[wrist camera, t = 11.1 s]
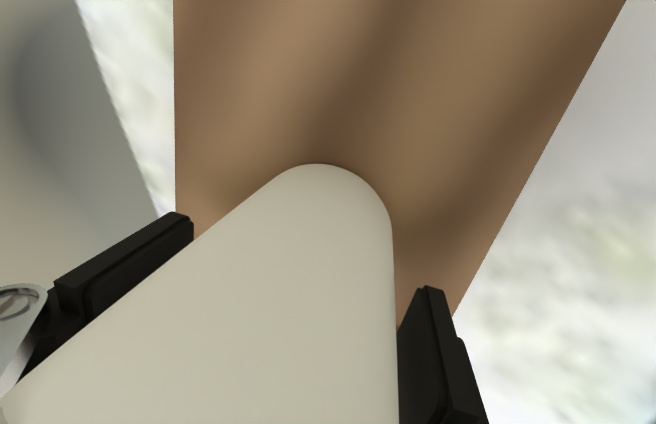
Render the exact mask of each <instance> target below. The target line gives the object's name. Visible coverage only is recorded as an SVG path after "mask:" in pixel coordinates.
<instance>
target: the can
mask: <svg viewBox="0 0 656 424" xmlns="http://www.w3.org/2000/svg"><path fill="white" fill-rule="evenodd" d="M0 407H1V408H2V410H3V414H4V417H5V419H6V421H7V423H8V424H399V406H398V374H397V344H396V315H395V287H394V261H393V240H392V227H391V221H390V218H389V215H388V212H387V210H386V208H385V206H384V204H383V202H382V201H381V199H380V198H379V196H378V195H377V193H376V192H375V191H374V190H373V188H372V187H371V186H370V185H369V184H368V183H367V182H365V181H364V180H363V179H362V178H360V177H359V176H357V175H355V174H354V173H352V172H350V171H348V170H345V169H343V168H340V167H336V166H332V165H327V164H306V165H301V166H297V167H294V168H291V169H289V170H287V171H285V172H283V173H281V174H279V175H278V176H276V177H275V178H274V179H272V180H271V181H269V182H268V183H267V184H265V185H264V186H263V187H262V188H260V189H259V190H258V191H256V192H255V193H254V194H253V195H251V196H250V197H249V198H247V199H246V200H245V201H244V202H242V203H241V204H240V205H238V206H237V207H236V208H235V209H233V210H232V211H231V212H230V213H228V214H227V215H226V216H224V217H223V218H222V219H221V220H219V221H218V222H217V223H215V224H214V225H213V226H212V227H210V228H209V229H208V230H207V231H205V232H204V233H203V234H202V235H200V236H199V237H198V238H196V239H195V240H194V241H193V242H191V243H190V244H189V245H188V246H186V247H185V248H184V249H182V250H181V251H180V252H179V253H177V254H176V255H175V256H174V257H172V258H171V259H170V260H169V261H167V262H166V263H165V264H164V265H162V266H161V267H160V268H158V269H157V270H156V271H155V272H153V273H152V274H151V275H150V276H148V277H147V278H146V279H145V280H143V281H142V282H141V283H140V284H138V285H137V286H136V287H135V288H133V289H132V290H131V291H129V292H128V293H127V294H126V295H124V296H123V297H122V298H121V299H119V300H118V301H117V302H116V303H114V304H113V305H112V306H111V307H109V308H108V309H107V310H106V311H104V312H103V313H102V314H101V315H99V316H98V317H97V318H96V319H94V320H93V321H92V322H91V323H89V324H88V325H87V326H86V327H84V328H83V329H82V330H81V331H79V332H78V333H77V334H76V335H74V336H73V337H72V338H71V339H69V340H68V341H67V342H66V343H64V344H63V345H62V346H61V347H60V348H58V349H57V350H56V351H55V352H54V353H52V354H51V355H50V356H49V357H48V358H46V359H45V360H44V361H43V362H42V363H40V364H39V365H38V366H37V367H35V368H34V369H33V370H32V371H31V372H29V373H28V374H27V375H26V376H25V377H23V378H22V379H21V380H20V381H19V382H18V383H17V384H16V385H15V386H14V387H13V388H12V389H11V390H9V391H8V392H7V393H6V394H5V395H4V396H3V397H2V398H1V399H0Z"/></svg>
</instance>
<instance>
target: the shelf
mask: <svg viewBox="0 0 656 424" xmlns="http://www.w3.org/2000/svg"><path fill="white" fill-rule="evenodd" d="M625 2H626V0H173V24H174V111H175V199H176V213H180V214H183V215H187V216H189V217H190V220H191V221H192V222H193V223H194V240H195V239H196V238H198V237H199V236H200V235H202V234H203V233H204V232H205V231H207V230H208V229H209V228H210V227H212V226H213V225H214V224H215V223H217V222H218V221H219V220H221V219H222V218H223V217H224V216H226V215H227V214H228V213H230V212H231V211H232V210H233V209H235V208H236V207H237V206H238V205H240V204H241V203H242V202H244V201H245V200H246V199H247V198H249V197H250V196H251V195H253V194H254V193H255V192H256V191H258V190H259V189H260V188H262V187H263V186H264V185H265V184H267V183H268V182H269V181H271V180H272V179H274V178H275V177H276V176H278V175H279V174H281V173H283V172H285V171H287V170H289V169H291V168H294V167H297V166H301V165H306V164H327V165H332V166H336V167H340V168H343V169H345V170H348V171H350V172H352V173H354V174H355V175H357V176H359V177H360V178H362V179H363V180H364V181H365V182H367V183H368V184H369V185H370V186H371V187H372V188H373V190H374V191H375V192H376V193H377V195H378V196H379V198H380V199H381V201H382V202H383V204H384V206H385V208H386V210H387V212H388V215H389V218H390V221H391V227H392V240H393V261H394V287H395V315H396V334H397V331H398V329H399V327H400V325H401V322H402V320H403V318H404V316H405V314H406V311H407V309H408V307H409V305H410V303H411V300H412V298H413V296H414V294H415V291H416V290H417V288H423V287H424V286H425V285H428V286H431V287H434V288H438V289H441V290H443V291H444V293H445V296H446V300H447V303H448V307H449V310H450V314H451V317H452V316H453V314H454V313H455V311H456V309H457V307H458V305H459V304H460V302H461V300H462V298H463V296H464V294H465V293H466V291H467V289H468V287H469V285H470V284H471V282H472V280H473V278H474V276H475V274H476V273H477V271H478V269H479V267H480V265H481V263H482V262H483V260H484V258H485V256H486V254H487V253H488V251H489V249H490V247H491V245H492V243H493V242H494V240H495V238H496V236H497V234H498V233H499V231H500V229H501V227H502V225H503V223H504V222H505V220H506V218H507V216H508V214H509V213H510V211H511V209H512V207H513V205H514V203H515V202H516V200H517V198H518V196H519V194H520V193H521V191H522V189H523V187H524V185H525V183H526V182H527V180H528V178H529V176H530V174H531V173H532V171H533V169H534V167H535V165H536V163H537V162H538V160H539V158H540V156H541V154H542V153H543V151H544V149H545V147H546V145H547V143H548V142H549V140H550V138H551V136H552V134H553V133H554V131H555V129H556V127H557V125H558V123H559V122H560V120H561V118H562V116H563V114H564V113H565V111H566V109H567V107H568V105H569V103H570V102H571V100H572V98H573V96H574V94H575V92H576V91H577V89H578V87H579V85H580V83H581V82H582V80H583V78H584V76H585V74H586V72H587V71H588V69H589V67H590V65H591V63H592V62H593V60H594V58H595V56H596V54H597V52H598V51H599V49H600V47H601V45H602V43H603V42H604V40H605V38H606V36H607V34H608V32H609V31H610V29H611V27H612V25H613V23H614V22H615V20H616V18H617V16H618V14H619V12H620V11H621V9H622V7H623V5H624V3H625Z"/></svg>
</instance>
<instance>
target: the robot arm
mask: <svg viewBox="0 0 656 424" xmlns="http://www.w3.org/2000/svg"><path fill="white" fill-rule="evenodd" d="M193 241H194V223H193V222H192V221H191V220H190V217H189V216H187V215H183V214H180V213H176V212H169V213H167V214H166V215H164V216H162V217H161V218H159V219H157V220H156V221H154V222H152V223H151V224H149V225H147V226H145V227H144V228H142V229H141V230H139V231H137V232H135V233H134V234H132V235H130V236H129V237H127V238H125V239H124V240H122V241H120V242H119V243H117V244H115V245H114V246H112V247H110V248H108V249H107V250H105V251H103V252H102V253H100V254H98V255H97V256H95V257H93V258H92V259H90V260H88V261H87V262H85V263H83V264H82V265H80V266H78V267H77V268H75V269H73V270H72V271H70V272H68V273H67V274H65V275H63V276H61V277H60V278H58V279H56V280H55V281H54V287H53V288H51V289H50V290H48V291H46V289H45V288H43V287H42V286H40V285H35V284H25V283H23V284H22V283H21V284H13V285H7V286H3V287H0V399H1V398H2V397H3V396H4V395H5V394H6V393H7V392H8V391H9V390H11V389H12V388H13V387H14V386H15V385H16V384H17V383H18V382H19V381H20V380H21V379H22V378H23V377H25V376H26V375H27V374H28V373H29V372H31V371H32V370H33V369H34V368H35V367H37V366H38V365H39V364H40V363H42V362H43V361H44V360H45V359H46V358H48V357H49V356H50V355H51V354H52V353H54V352H55V351H56V350H57V349H58V348H60V347H61V346H62V345H63V344H64V343H66V342H67V341H68V340H69V339H71V338H72V337H73V336H74V335H76V334H77V333H78V332H79V331H81V330H82V329H83V328H84V327H86V326H87V325H88V324H89V323H91V322H92V321H93V320H94V319H96V318H97V317H98V316H99V315H101V314H102V313H103V312H104V311H106V310H107V309H108V308H109V307H111V306H112V305H113V304H114V303H116V302H117V301H118V300H119V299H121V298H122V297H123V296H124V295H126V294H127V293H128V292H129V291H131V290H132V289H133V288H135V287H136V286H137V285H138V284H140V283H141V282H142V281H143V280H145V279H146V278H147V277H148V276H150V275H151V274H152V273H153V272H155V271H156V270H157V269H158V268H160V267H161V266H162V265H164V264H165V263H166V262H167V261H169V260H170V259H171V258H172V257H174V256H175V255H176V254H177V253H179V252H180V251H181V250H182V249H184V248H185V247H186V246H188V245H189V244H190V243H191V242H193ZM396 344H397V374H398V406H399V424H489V422H488V418H487V415H486V412H485V409H484V405H483V402H482V399H481V396H480V392H479V389H478V386H477V383H476V379H475V376H474V373H473V370H472V366H471V363H470V360H469V357H468V353H467V350H466V347H465V344H464V342H463V340H462V339H461V338H459V337H457V335H456V331H455V328H454V324H453V321H452V317H451V314H450V310H449V307H448V303H447V300H446V296H445V293H444V291H443V290H441V289H438V288H434V287H431V286H428V285H425V286H424V287H423V288H417V290H416V291H415V294H414V296H413V298H412V300H411V303H410V305H409V307H408V309H407V311H406V314H405V316H404V318H403V320H402V322H401V325H400V327H399V329H398V331H397V334H396ZM0 424H8V423H7V421H6V419H5V417H4V414H3V410H2V408H1V407H0Z"/></svg>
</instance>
